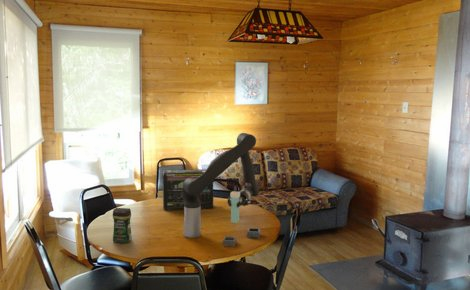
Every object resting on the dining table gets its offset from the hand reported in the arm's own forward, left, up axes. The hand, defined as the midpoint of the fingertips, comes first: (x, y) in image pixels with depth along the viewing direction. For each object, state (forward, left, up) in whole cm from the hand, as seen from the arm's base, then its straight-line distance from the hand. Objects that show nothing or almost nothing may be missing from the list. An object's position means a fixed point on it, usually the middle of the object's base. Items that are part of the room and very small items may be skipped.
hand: (233, 205), depth 224 cm
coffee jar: (-61, -5, -22) cm, 65 cm away
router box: (-41, +65, -22) cm, 80 cm away
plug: (+1, +3, -10) cm, 10 cm away
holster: (-2, 0, -22) cm, 22 cm away
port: (+10, +15, -22) cm, 28 cm away
